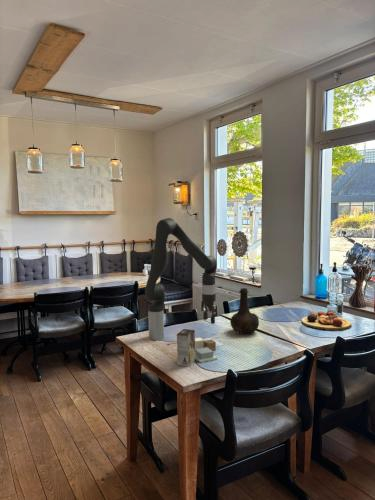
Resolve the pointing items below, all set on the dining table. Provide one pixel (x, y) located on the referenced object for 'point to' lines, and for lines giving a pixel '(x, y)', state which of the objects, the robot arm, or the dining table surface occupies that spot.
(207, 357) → the tower base
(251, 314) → the glass bottle
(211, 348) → the walnut brick
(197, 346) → the cream brick
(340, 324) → the wooden plate with food
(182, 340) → the coffee box
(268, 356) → the dining table surface
